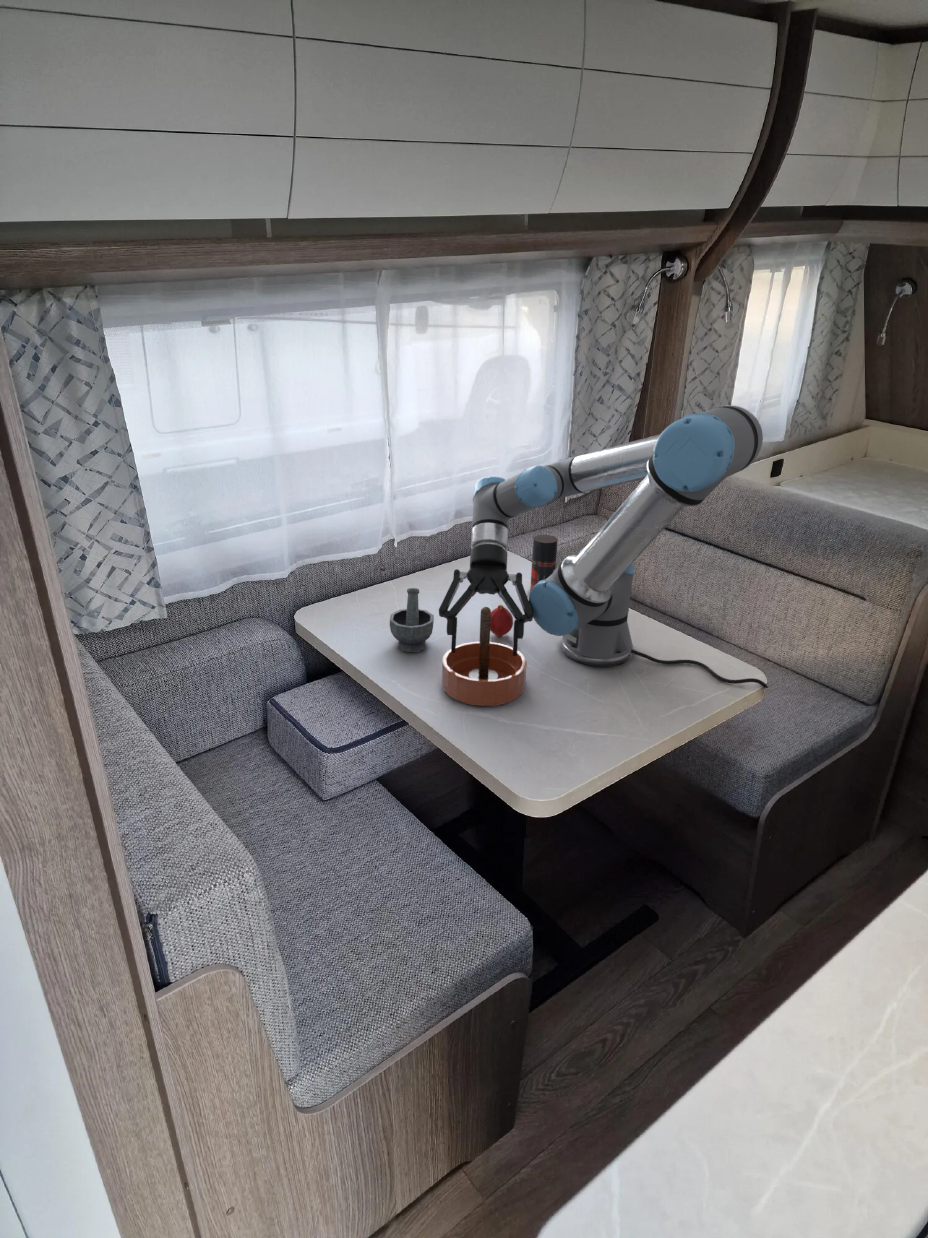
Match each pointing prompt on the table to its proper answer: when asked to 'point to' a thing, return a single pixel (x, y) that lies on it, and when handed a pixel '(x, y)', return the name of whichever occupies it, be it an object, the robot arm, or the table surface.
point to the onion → (501, 621)
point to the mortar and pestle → (411, 624)
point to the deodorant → (543, 558)
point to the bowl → (484, 690)
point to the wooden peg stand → (484, 649)
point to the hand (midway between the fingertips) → (484, 652)
